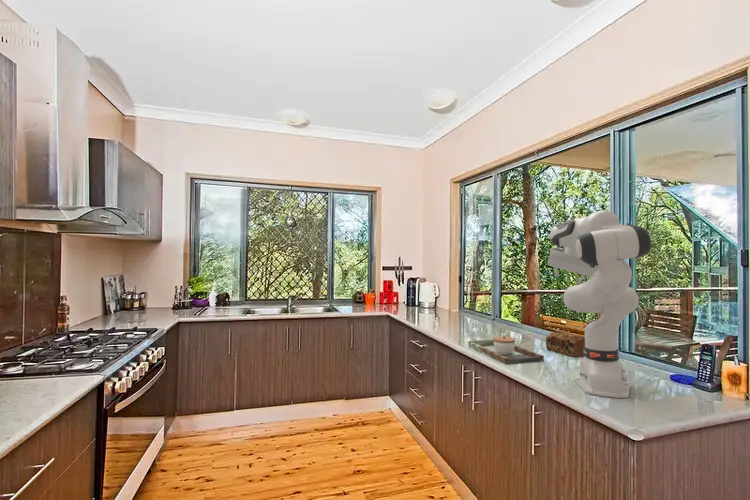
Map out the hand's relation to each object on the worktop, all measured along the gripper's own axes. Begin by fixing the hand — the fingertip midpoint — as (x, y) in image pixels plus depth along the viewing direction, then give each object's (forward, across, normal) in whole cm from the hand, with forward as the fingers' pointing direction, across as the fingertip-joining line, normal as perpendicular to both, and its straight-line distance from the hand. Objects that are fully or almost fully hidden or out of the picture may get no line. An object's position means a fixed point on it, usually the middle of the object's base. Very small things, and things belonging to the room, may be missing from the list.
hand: (567, 279), depth 183 cm
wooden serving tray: (+47, -19, -3) cm, 50 cm away
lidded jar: (+47, -18, -3) cm, 50 cm away
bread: (+42, +8, +16) cm, 46 cm away
